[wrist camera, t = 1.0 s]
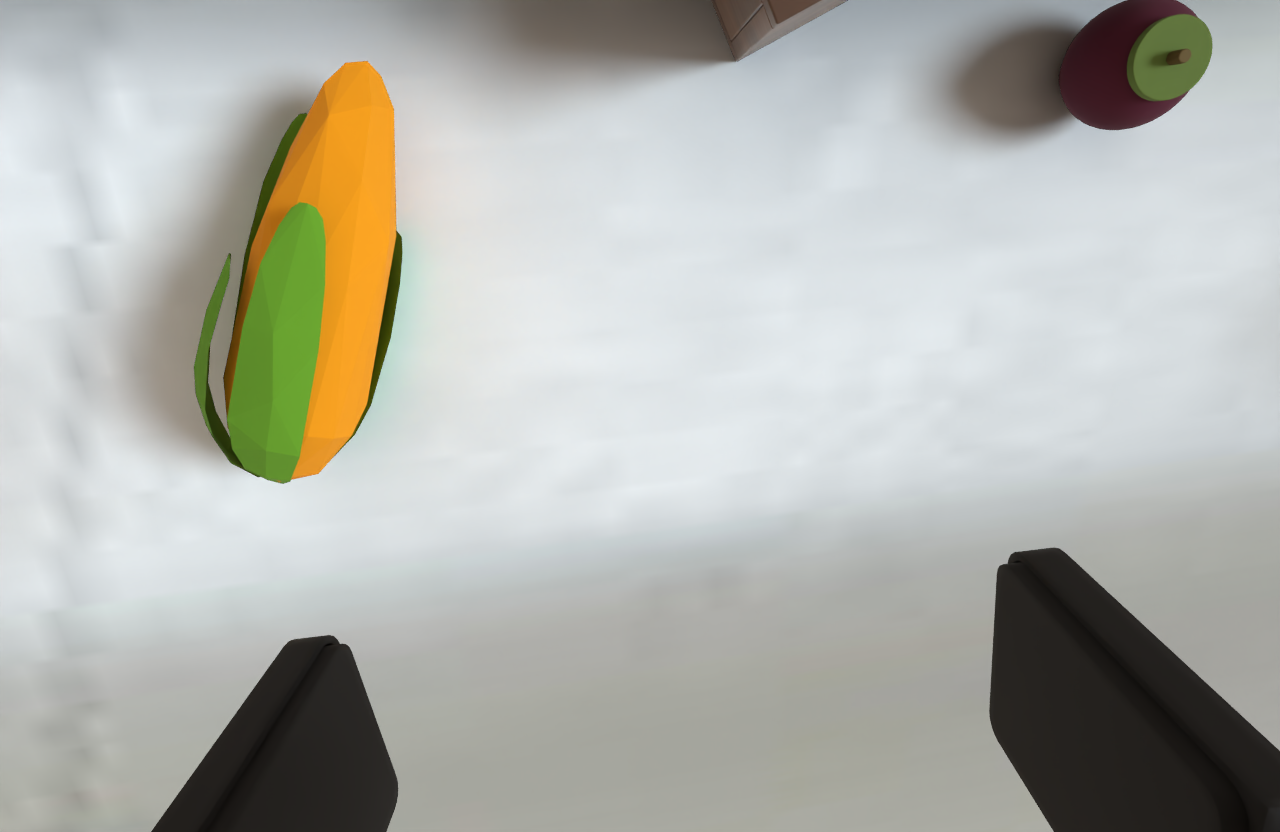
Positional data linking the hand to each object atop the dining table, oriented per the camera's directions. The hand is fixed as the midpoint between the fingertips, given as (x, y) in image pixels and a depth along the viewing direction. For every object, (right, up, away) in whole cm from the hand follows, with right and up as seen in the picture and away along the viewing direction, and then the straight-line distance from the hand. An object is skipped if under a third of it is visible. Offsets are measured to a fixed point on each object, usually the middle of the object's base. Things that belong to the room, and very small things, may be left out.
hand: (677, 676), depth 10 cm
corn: (-16, +11, +25) cm, 31 cm away
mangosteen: (+20, +19, +21) cm, 35 cm away
